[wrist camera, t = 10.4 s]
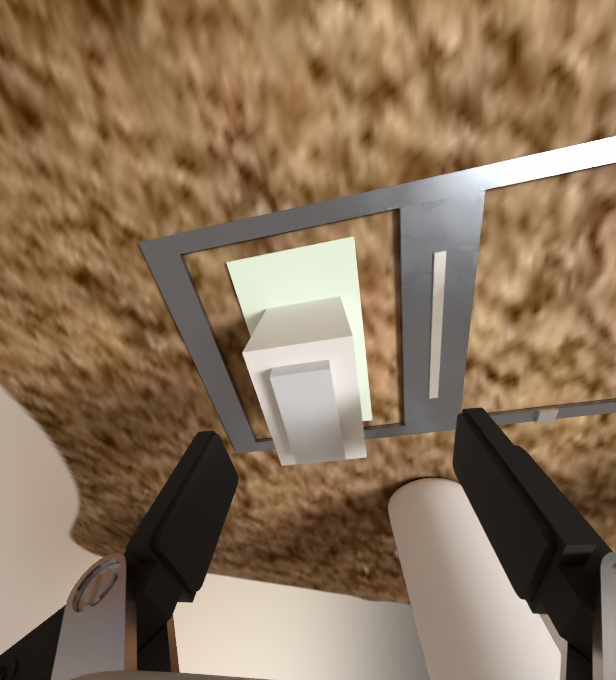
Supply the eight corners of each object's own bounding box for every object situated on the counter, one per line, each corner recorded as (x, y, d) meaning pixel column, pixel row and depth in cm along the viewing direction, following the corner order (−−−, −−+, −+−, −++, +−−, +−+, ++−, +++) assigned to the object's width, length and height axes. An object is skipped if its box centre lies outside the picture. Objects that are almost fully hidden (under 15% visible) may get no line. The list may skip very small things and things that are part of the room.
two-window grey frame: (847, 85, 10) (872, 79, 9) (661, 404, 17) (670, 409, 17) (141, 242, 13) (135, 242, 13) (238, 451, 21) (236, 456, 20)
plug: (340, 295, 14) (355, 344, 9) (352, 389, 17) (369, 469, 12) (264, 308, 15) (233, 362, 9) (289, 397, 18) (276, 478, 12)
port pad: (353, 236, 13) (353, 236, 13) (371, 418, 19) (372, 419, 18) (227, 261, 14) (226, 262, 14) (281, 428, 19) (281, 430, 19)
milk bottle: (375, 486, 22) (610, 1549, 4) (461, 465, 21) (1382, 2017, 3) (398, 528, 25) (595, 1264, 7) (475, 513, 24) (964, 1412, 6)
